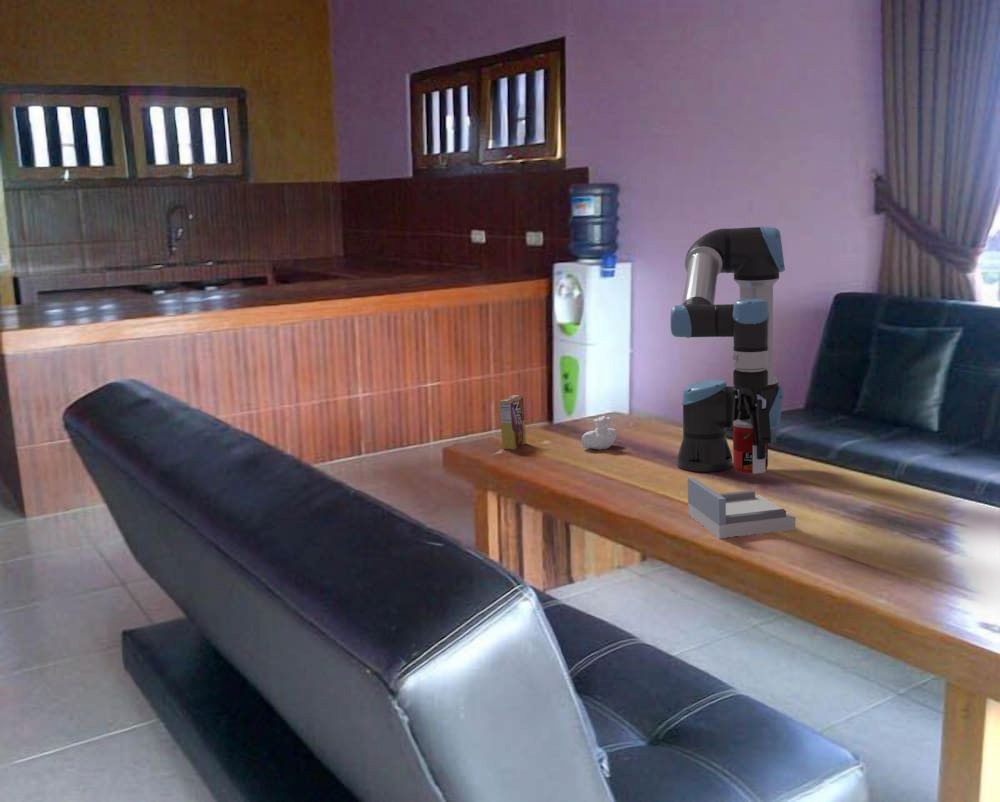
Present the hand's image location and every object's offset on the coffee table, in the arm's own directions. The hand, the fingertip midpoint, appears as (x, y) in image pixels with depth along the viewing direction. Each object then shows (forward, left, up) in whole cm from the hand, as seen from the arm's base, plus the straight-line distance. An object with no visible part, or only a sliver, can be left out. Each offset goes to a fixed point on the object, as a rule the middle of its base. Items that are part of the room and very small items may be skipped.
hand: (750, 467), depth 231 cm
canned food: (0, 0, 0) cm, 0 cm away
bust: (-78, -11, -13) cm, 80 cm away
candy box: (-91, -35, -13) cm, 99 cm away
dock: (0, -2, -13) cm, 13 cm away
